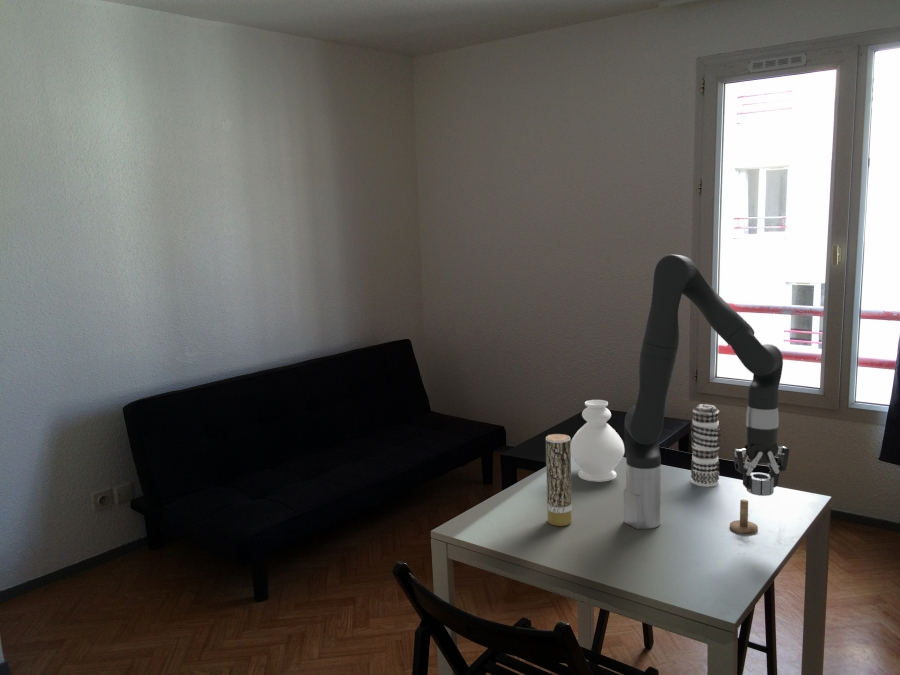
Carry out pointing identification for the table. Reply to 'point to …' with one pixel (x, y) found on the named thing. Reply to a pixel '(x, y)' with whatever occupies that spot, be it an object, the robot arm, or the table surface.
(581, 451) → the decorative vase
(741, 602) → the table surface
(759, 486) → the ring
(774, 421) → the robot arm
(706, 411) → the decorative candle
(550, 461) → the paper tube
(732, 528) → the wooden peg stand
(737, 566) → the table surface
